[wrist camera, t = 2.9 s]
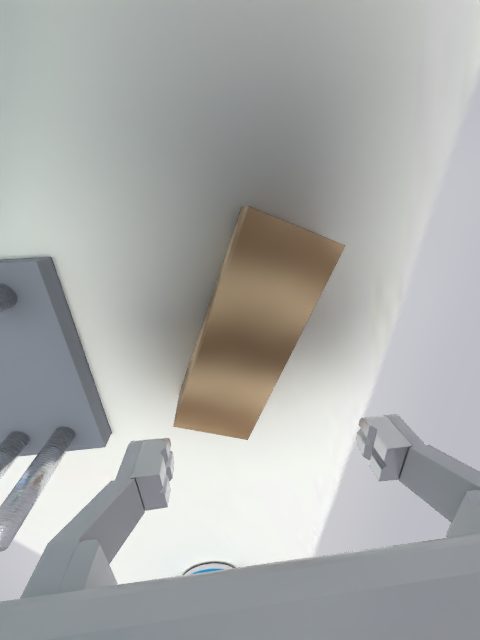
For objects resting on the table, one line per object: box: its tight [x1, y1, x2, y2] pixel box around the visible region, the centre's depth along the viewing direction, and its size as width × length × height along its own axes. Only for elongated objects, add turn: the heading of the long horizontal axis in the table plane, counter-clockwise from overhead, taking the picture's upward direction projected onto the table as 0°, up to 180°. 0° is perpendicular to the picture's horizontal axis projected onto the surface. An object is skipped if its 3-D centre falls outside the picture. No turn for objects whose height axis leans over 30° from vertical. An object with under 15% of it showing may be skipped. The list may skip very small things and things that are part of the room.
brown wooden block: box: [174, 206, 345, 440], centre depth 18 cm, size 16×6×4 cm, turn 160°
